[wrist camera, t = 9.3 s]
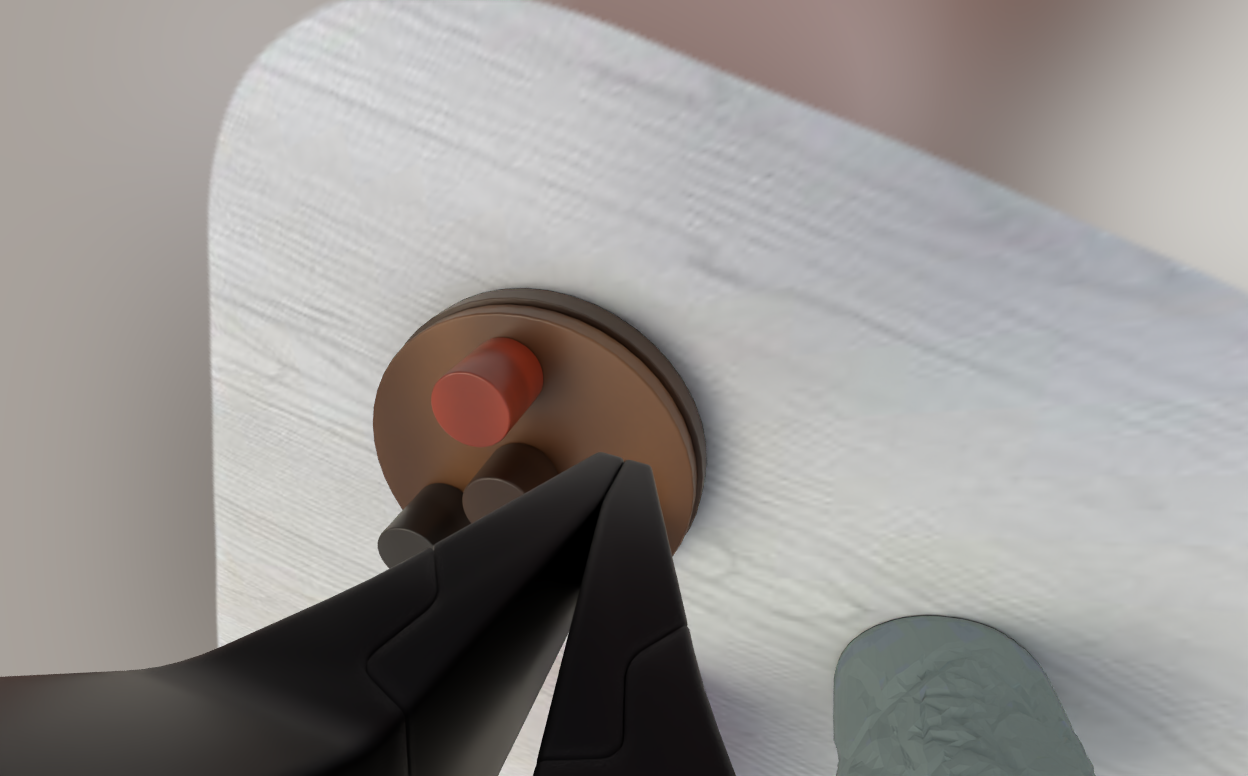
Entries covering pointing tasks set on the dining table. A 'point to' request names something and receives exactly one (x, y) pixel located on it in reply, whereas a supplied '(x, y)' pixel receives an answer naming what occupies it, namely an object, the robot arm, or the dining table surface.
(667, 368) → the base
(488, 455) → the spice rack
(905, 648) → the grey green pot
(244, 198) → the dining table surface
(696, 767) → the robot arm
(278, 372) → the dining table surface
